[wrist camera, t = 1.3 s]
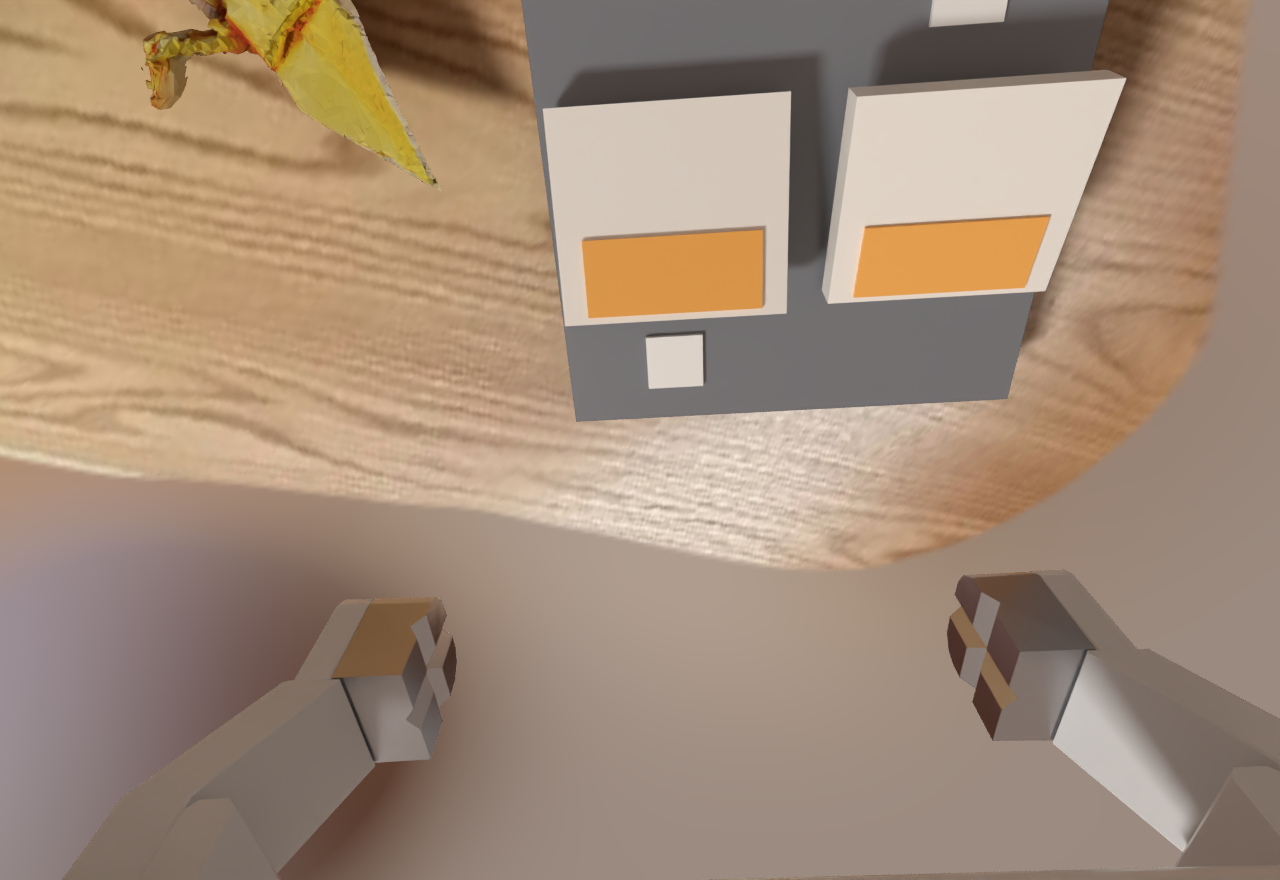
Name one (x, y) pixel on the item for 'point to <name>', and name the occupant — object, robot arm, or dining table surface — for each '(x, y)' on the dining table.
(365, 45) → the origami crane
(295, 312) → the dining table surface
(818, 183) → the switch panel
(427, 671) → the robot arm
